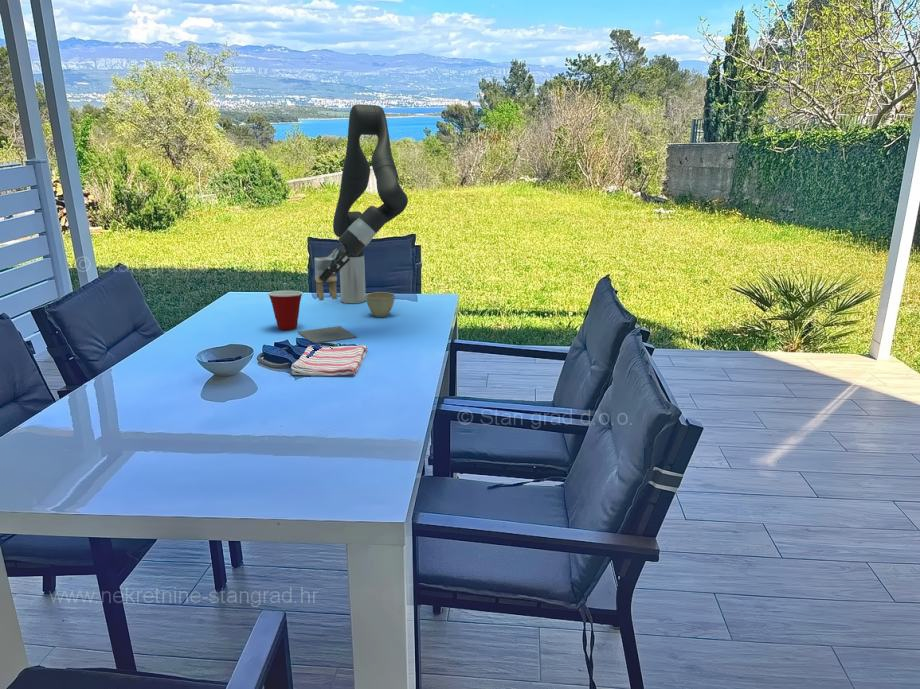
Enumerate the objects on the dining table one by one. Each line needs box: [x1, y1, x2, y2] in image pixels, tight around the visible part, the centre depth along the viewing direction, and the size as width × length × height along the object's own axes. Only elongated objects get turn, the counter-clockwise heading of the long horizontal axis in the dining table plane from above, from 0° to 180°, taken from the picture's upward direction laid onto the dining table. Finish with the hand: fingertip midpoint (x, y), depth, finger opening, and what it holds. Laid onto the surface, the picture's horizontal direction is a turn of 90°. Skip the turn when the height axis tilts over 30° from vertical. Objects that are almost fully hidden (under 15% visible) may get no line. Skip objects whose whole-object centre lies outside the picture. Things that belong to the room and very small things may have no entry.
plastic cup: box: [267, 290, 304, 331], centre depth 214 cm, size 11×11×12 cm
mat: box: [297, 325, 357, 344], centre depth 208 cm, size 14×14×1 cm
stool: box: [313, 256, 338, 301], centre depth 203 cm, size 6×6×12 cm
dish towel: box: [290, 345, 368, 377], centre depth 182 cm, size 17×23×4 cm
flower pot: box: [365, 291, 396, 318], centre depth 231 cm, size 10×10×7 cm
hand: (319, 278), depth 202 cm, fingers closed on stool, 5 cm apart
